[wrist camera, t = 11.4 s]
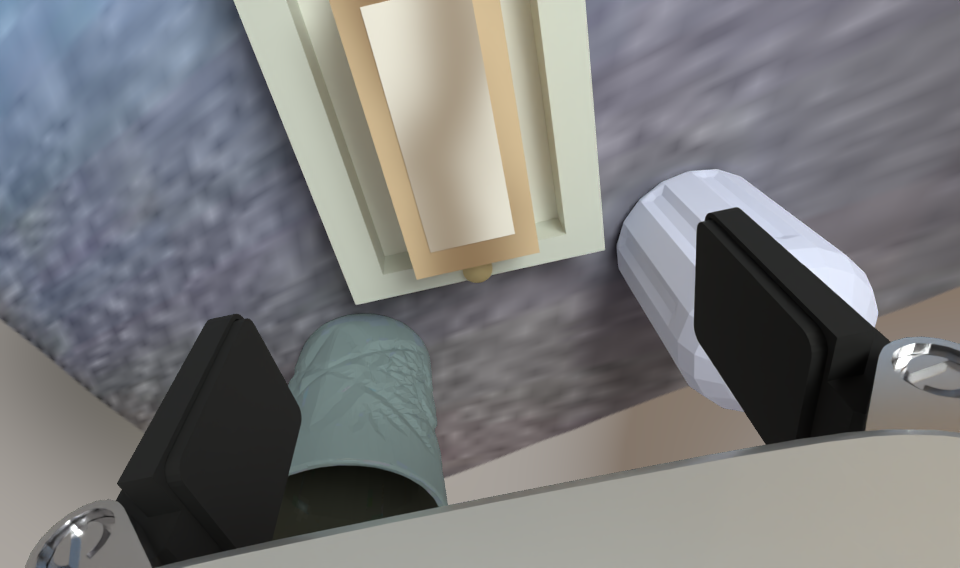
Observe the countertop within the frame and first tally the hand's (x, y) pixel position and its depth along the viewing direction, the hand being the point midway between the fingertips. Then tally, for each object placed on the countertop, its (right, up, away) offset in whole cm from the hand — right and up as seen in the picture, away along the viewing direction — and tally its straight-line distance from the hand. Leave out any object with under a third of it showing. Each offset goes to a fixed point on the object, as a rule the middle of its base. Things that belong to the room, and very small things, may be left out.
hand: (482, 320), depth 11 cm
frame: (-2, +10, +15) cm, 18 cm away
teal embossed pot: (-8, -5, +25) cm, 27 cm away
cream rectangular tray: (-2, +10, +16) cm, 19 cm away
